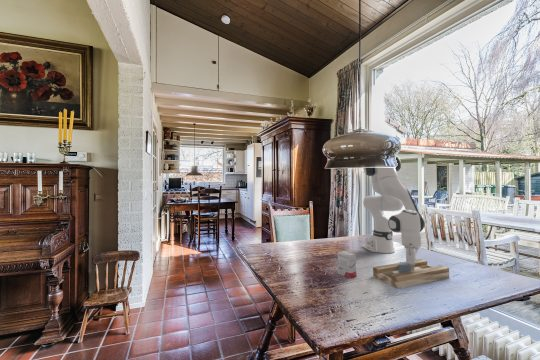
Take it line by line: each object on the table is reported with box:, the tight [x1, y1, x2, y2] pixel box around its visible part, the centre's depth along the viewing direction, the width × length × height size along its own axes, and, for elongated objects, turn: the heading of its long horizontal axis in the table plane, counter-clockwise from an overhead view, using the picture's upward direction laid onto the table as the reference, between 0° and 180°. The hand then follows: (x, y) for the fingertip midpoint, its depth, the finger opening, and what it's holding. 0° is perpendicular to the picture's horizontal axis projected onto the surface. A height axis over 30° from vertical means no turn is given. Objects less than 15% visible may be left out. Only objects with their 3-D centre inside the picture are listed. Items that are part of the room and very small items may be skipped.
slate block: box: [398, 261, 411, 273], centre depth 130 cm, size 5×5×4 cm
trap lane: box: [372, 258, 450, 289], centre depth 131 cm, size 16×34×5 cm, turn 110°
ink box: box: [336, 250, 357, 279], centre depth 135 cm, size 9×5×12 cm, turn 33°
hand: (412, 269), depth 130 cm, fingers closed, pressing on slate block
